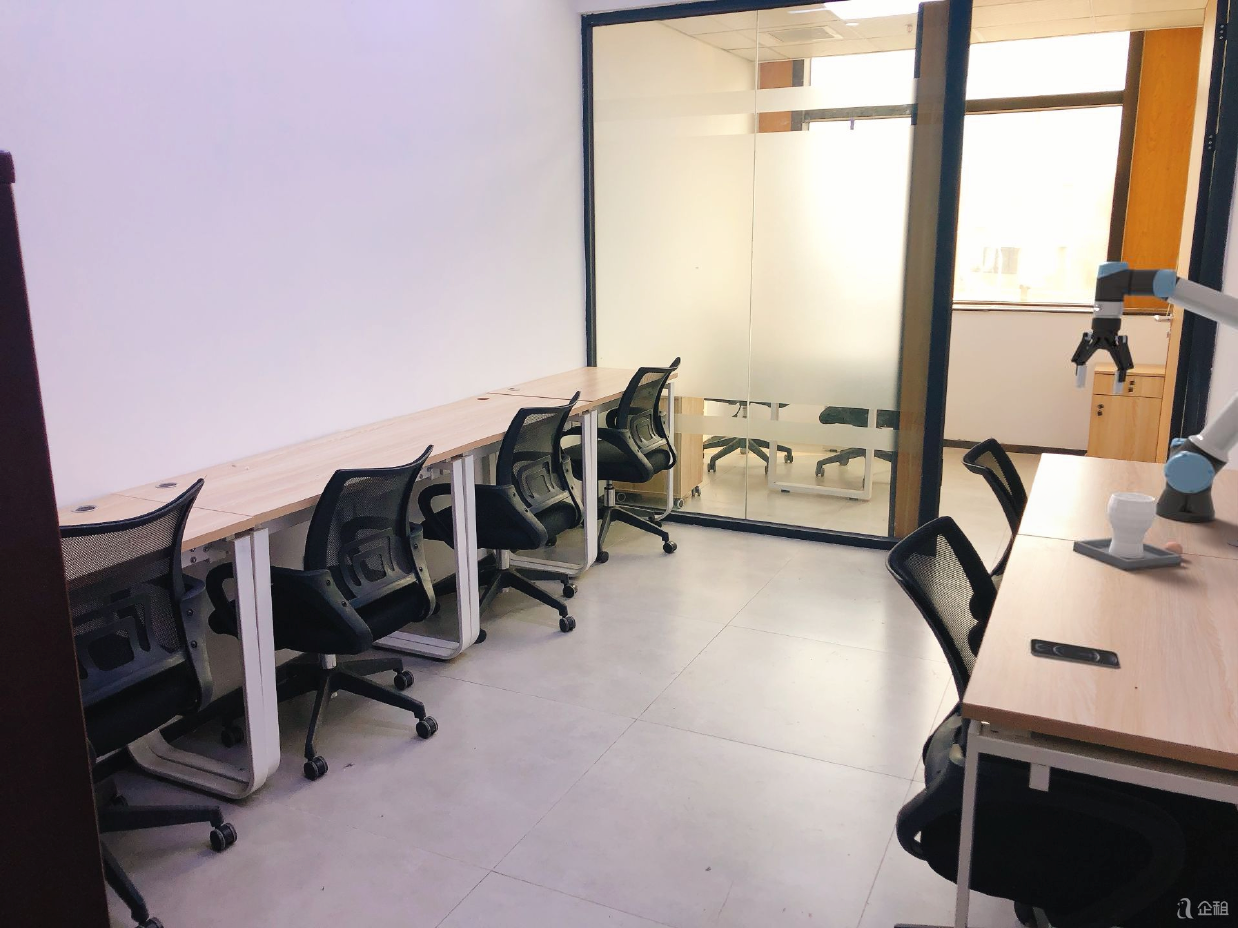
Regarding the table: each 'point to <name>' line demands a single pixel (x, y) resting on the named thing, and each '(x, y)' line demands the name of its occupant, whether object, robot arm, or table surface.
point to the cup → (1130, 522)
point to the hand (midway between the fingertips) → (1098, 390)
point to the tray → (1150, 558)
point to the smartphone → (1074, 653)
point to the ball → (1174, 547)
